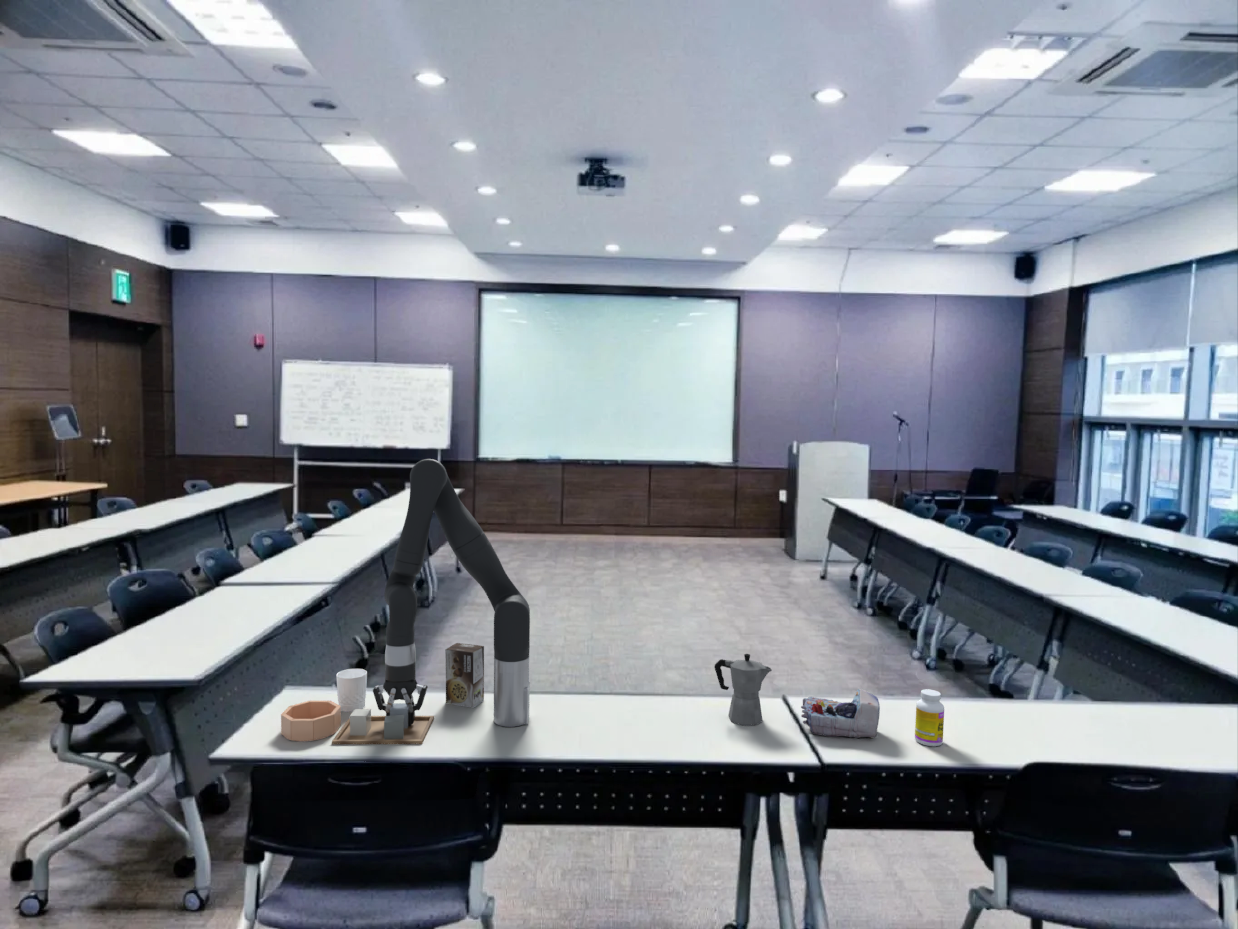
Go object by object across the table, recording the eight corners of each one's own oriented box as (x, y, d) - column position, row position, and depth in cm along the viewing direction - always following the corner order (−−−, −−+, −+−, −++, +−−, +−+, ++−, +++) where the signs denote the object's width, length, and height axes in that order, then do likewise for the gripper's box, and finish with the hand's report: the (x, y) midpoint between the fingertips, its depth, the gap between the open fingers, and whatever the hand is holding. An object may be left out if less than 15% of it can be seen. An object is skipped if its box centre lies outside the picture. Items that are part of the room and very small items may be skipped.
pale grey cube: (371, 728, 195) (371, 709, 195) (366, 735, 191) (366, 715, 191) (355, 728, 195) (355, 709, 195) (349, 735, 191) (349, 715, 190)
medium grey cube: (404, 731, 194) (404, 714, 193) (403, 738, 190) (403, 721, 189) (385, 733, 193) (385, 716, 192) (384, 740, 188) (384, 722, 188)
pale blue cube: (410, 722, 200) (410, 703, 199) (407, 728, 196) (407, 709, 195) (393, 722, 199) (393, 703, 199) (389, 728, 195) (389, 709, 195)
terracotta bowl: (345, 722, 200) (345, 700, 200) (329, 743, 187) (329, 720, 187) (294, 722, 200) (294, 700, 199) (275, 743, 187) (274, 720, 186)
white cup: (361, 715, 205) (360, 678, 205) (331, 714, 205) (331, 677, 205) (371, 704, 213) (371, 668, 212) (343, 703, 213) (342, 668, 213)
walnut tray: (434, 720, 202) (434, 715, 202) (422, 746, 187) (422, 740, 187) (351, 721, 201) (351, 715, 201) (331, 746, 186) (331, 741, 186)
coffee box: (484, 701, 216) (485, 645, 215) (473, 710, 210) (473, 652, 209) (456, 697, 219) (456, 642, 218) (444, 705, 213) (444, 648, 212)
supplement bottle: (940, 749, 190) (942, 699, 190) (912, 743, 194) (914, 693, 193) (944, 740, 196) (947, 691, 195) (917, 734, 200) (919, 686, 199)
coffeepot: (772, 716, 210) (774, 652, 208) (767, 729, 201) (769, 662, 199) (717, 708, 215) (718, 645, 213) (709, 720, 206) (711, 655, 205)
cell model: (884, 702, 192) (803, 698, 195) (883, 744, 193) (802, 739, 196) (875, 684, 205) (798, 680, 208) (874, 723, 206) (798, 719, 209)
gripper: (431, 655, 201) (431, 719, 202) (376, 655, 200) (376, 719, 201) (425, 665, 193) (425, 731, 194) (368, 664, 192) (368, 731, 193)
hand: (400, 724), depth 198 cm, fingers closed on pale blue cube, 4 cm apart
